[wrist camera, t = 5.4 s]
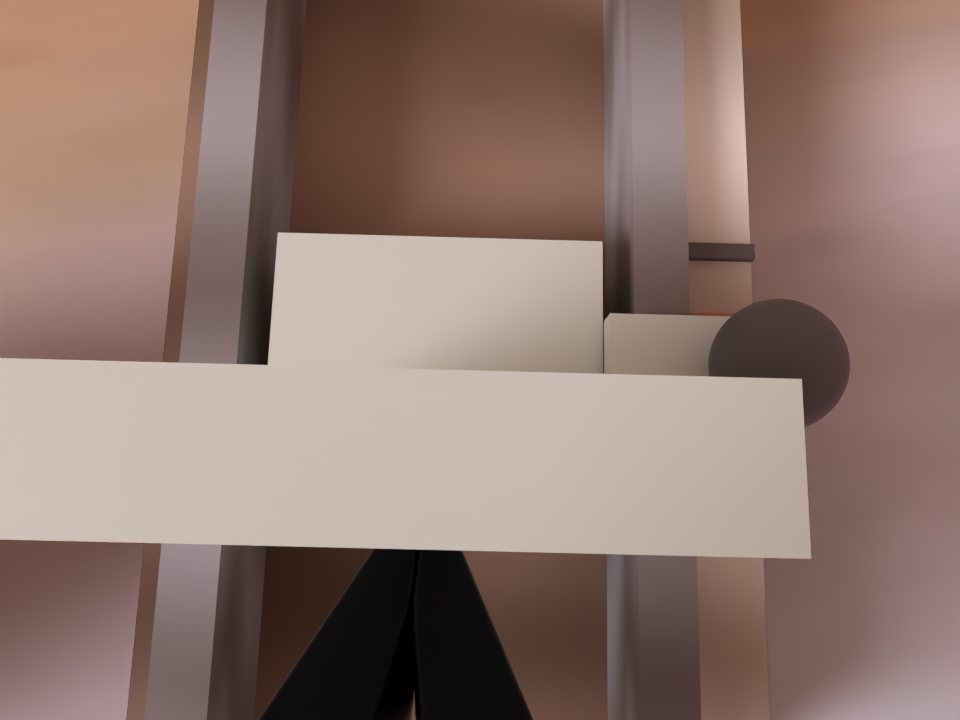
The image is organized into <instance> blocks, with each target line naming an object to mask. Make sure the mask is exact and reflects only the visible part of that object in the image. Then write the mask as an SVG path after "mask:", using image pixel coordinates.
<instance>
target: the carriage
mask: <svg viewBox="0 0 960 720" xmlns="http://www.w3.org/2000/svg"><path fill="white" fill-rule="evenodd" d="M849 371H850V361H849V353H848V349H847V346H846V343H845V341H844V338H843V337H842V335H841V333H840V331H839V330H838V328H837V327H836V326H835V325H834V323H833V322H832V321H831V320H830V319H829V318H827V317H826V316H825V315H824V314H823V313H821V312H820V311H818V310H816V309H815V308H813V307H811V306H809V305H806V304H804V303H801V302H796V301H792V300H783V299H773V300H766V301H761V302H757V303H754V304H751V305H749V306H747V307H745V308H743V309H741V310H740V311H738V312H736V313H735V314H734V315H733V316H694V315H656V314H619V313H610V314H609V315H608V317H607V318H606V319H605V321H604V374H603V243H602V241H570V240H533V239H497V238H461V237H425V236H389V235H353V234H316V233H280V232H278V236H277V249H276V262H275V276H274V289H273V302H272V315H271V328H270V341H269V354H268V365H249V364H211V363H172V362H134V361H96V360H57V359H19V358H0V539H2V540H43V541H85V542H126V543H168V544H210V545H251V546H293V547H334V548H376V549H417V550H459V551H501V552H542V553H584V554H625V555H667V556H708V557H750V558H792V559H811V541H810V522H809V503H808V485H807V466H806V447H805V428H804V427H806V426H808V425H810V424H812V423H815V422H817V421H818V420H819V419H821V418H822V417H824V416H825V415H826V414H827V413H828V412H829V411H831V410H832V409H833V407H834V406H835V405H836V404H837V403H838V401H839V399H840V398H841V396H842V394H843V392H844V390H845V388H846V385H847V382H848V378H849Z"/></svg>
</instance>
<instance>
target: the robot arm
mask: <svg viewBox="0 0 960 720" xmlns="http://www.w3.org/2000/svg"><path fill="white" fill-rule="evenodd" d="M414 692H415V720H533V718H532V715H531V713H530V710H529V708H528V706H527V703H526V701H525V698H524V696H523V694H522V691H521V689H520V687H519V684H518V682H517V679H516V677H515V675H514V672H513V670H512V667H511V665H510V663H509V660H508V658H507V656H506V653H505V651H504V648H503V646H502V644H501V641H500V639H499V636H498V634H497V632H496V629H495V627H494V625H493V622H492V620H491V617H490V615H489V613H488V610H487V608H486V605H485V603H484V601H483V598H482V596H481V594H480V591H479V589H478V586H477V584H476V582H475V579H474V577H473V574H472V572H471V570H470V567H469V565H468V563H467V560H466V558H465V555H464V553H463V551H459V550H417V549H376V548H373V550H372V551H371V553H370V554H369V555H368V557H367V558H366V560H365V561H364V563H363V564H362V566H361V567H360V569H359V570H358V572H357V573H356V575H355V576H354V578H353V579H352V581H351V582H350V584H349V585H348V587H347V588H346V590H345V591H344V593H343V594H342V595H341V597H340V598H339V600H338V601H337V603H336V604H335V606H334V607H333V609H332V610H331V612H330V613H329V615H328V616H327V618H326V619H325V621H324V622H323V624H322V625H321V627H320V628H319V630H318V631H317V633H316V634H315V636H314V637H313V638H312V640H311V641H310V643H309V644H308V646H307V647H306V649H305V650H304V652H303V653H302V655H301V656H300V658H299V659H298V661H297V662H296V664H295V665H294V667H293V668H292V670H291V671H290V673H289V674H288V676H287V677H286V678H285V680H284V681H283V683H282V684H281V686H280V687H279V689H278V690H277V692H276V693H275V695H274V696H273V698H272V699H271V701H270V702H269V704H268V705H267V707H266V708H265V710H264V711H263V713H262V714H261V716H260V717H259V718H258V720H411V716H412V709H413V702H414Z"/></svg>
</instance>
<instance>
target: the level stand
mask: <svg viewBox="0 0 960 720" xmlns="http://www.w3.org/2000/svg"><path fill="white" fill-rule="evenodd" d="M278 232H280V233H316V234H353V235H389V236H425V237H461V238H497V239H533V240H570V241H602V243H603V374H604V321H605V319H606V318H607V317H608V315H609V314H610V313H619V314H656V315H694V316H733V315H734V314H735V313H736V312H738V311H740V310H741V309H743V308H745V307H747V306H749V305H751V304H753V298H752V274H751V262H752V261H753V260H754V259H755V254H754V244H750V227H749V203H748V179H747V156H746V132H745V109H744V85H743V61H742V38H741V14H740V0H199V10H198V19H197V29H196V39H195V49H194V59H193V69H192V78H191V88H190V98H189V108H188V118H187V128H186V137H185V147H184V157H183V167H182V177H181V187H180V196H179V206H178V216H177V226H176V236H175V246H174V256H173V265H172V275H171V285H170V295H169V305H168V315H167V324H166V334H165V344H164V354H163V362H172V363H211V364H249V365H268V354H269V341H270V328H271V315H272V302H273V289H274V276H275V262H276V249H277V236H278ZM372 550H373V548H334V547H293V546H251V545H210V544H168V543H144V551H143V561H142V570H141V580H140V590H139V600H138V610H137V620H136V629H135V639H134V649H133V659H132V669H131V679H130V688H129V698H128V708H127V718H126V720H258V718H259V717H260V716H261V714H262V713H263V711H264V710H265V708H266V707H267V705H268V704H269V702H270V701H271V699H272V698H273V696H274V695H275V693H276V692H277V690H278V689H279V687H280V686H281V684H282V683H283V681H284V680H285V678H286V677H287V676H288V674H289V673H290V671H291V670H292V668H293V667H294V665H295V664H296V662H297V661H298V659H299V658H300V656H301V655H302V653H303V652H304V650H305V649H306V647H307V646H308V644H309V643H310V641H311V640H312V638H313V637H314V636H315V634H316V633H317V631H318V630H319V628H320V627H321V625H322V624H323V622H324V621H325V619H326V618H327V616H328V615H329V613H330V612H331V610H332V609H333V607H334V606H335V604H336V603H337V601H338V600H339V598H340V597H341V595H342V594H343V593H344V591H345V590H346V588H347V587H348V585H349V584H350V582H351V581H352V579H353V578H354V576H355V575H356V573H357V572H358V570H359V569H360V567H361V566H362V564H363V563H364V561H365V560H366V558H367V557H368V555H369V554H370V553H371V551H372ZM463 553H464V555H465V558H466V560H467V563H468V565H469V567H470V570H471V572H472V574H473V577H474V579H475V582H476V584H477V586H478V589H479V591H480V594H481V596H482V598H483V601H484V603H485V605H486V608H487V610H488V613H489V615H490V617H491V620H492V622H493V625H494V627H495V629H496V632H497V634H498V636H499V639H500V641H501V644H502V646H503V648H504V651H505V653H506V656H507V658H508V660H509V663H510V665H511V667H512V670H513V672H514V675H515V677H516V679H517V682H518V684H519V687H520V689H521V691H522V694H523V696H524V698H525V701H526V703H527V706H528V708H529V710H530V713H531V715H532V718H533V720H770V700H769V676H768V652H767V629H766V605H765V581H764V558H750V557H708V556H667V555H625V554H584V553H542V552H501V551H463ZM411 720H415V692H414V702H413V709H412V716H411Z"/></svg>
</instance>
